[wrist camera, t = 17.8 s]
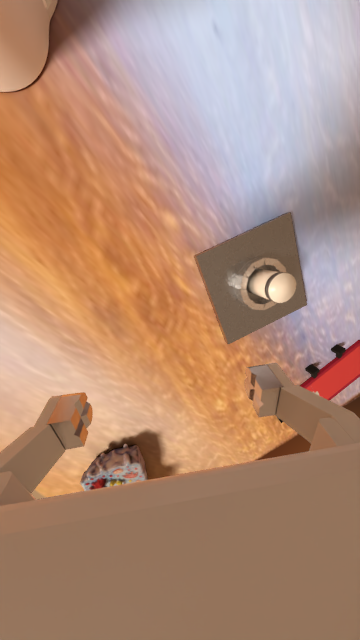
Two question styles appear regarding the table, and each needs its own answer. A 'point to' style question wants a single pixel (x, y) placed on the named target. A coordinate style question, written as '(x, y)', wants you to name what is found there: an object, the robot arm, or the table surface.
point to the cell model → (115, 469)
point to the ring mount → (238, 264)
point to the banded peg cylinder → (272, 285)
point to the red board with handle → (335, 372)
